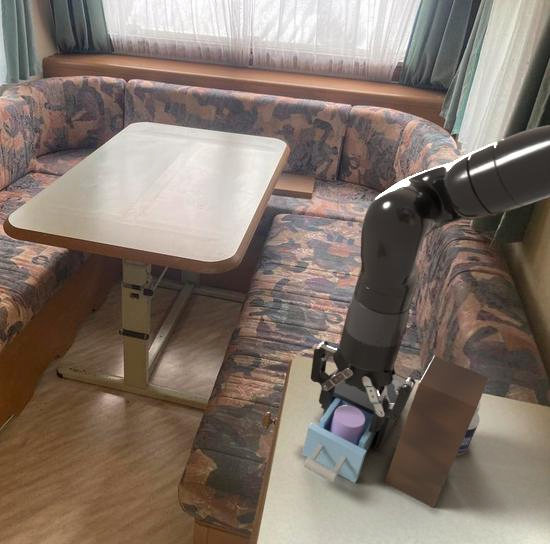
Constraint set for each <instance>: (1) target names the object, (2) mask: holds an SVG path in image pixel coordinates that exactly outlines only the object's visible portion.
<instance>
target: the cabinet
mask: <svg viewBox="0 0 550 544" xmlns="http://www.w3.org/2000/svg"><path fill="white" fill-rule="evenodd" d="M395 374H396V375H398V376H400V377H402V378H404V379H407V378H408V377H405V376H403V375H401V374H398V373H396V372H395ZM386 386H387V395H388V398H389V401H390V403H393V404H395V401H396V399H397V397H398V395H397V394H396V393H395V390H394V389H395V386H394V385H393V384H392V383H390V384H389V385H386ZM336 397H337V398H339V399H341V400H343V401H345V402H347V403H349V404H351V405H353V406H356V407H358V408H360V409H362V410H364V411H366V412H368V413H370V414H372V415H373V414H374V412H375V408H374V405H373V403H371V402H370V399H369V396H368V393H365V392H363V391H361V390H359V389H358V388H357V387H354V386H350V385H348V384H345V381H342V382H341V383H340V384H338V385H337V386H335V389H334V393H333V397H332V401H331V404H332V403H333V401H334V400H335V399H336ZM331 404H330V405H329V407H330V406H331ZM329 407H328V408H327V409H326V410H324V409H323V413H322V417H323V416H324V414H325V413H326V411H327V410H328V409H329ZM322 417H321V418H322ZM395 422H396V420H394V419H392V418H391V417H390V416H386V418H385V421H384V424H383V426H382V427H381V429H380V431H378V432H377V436H376V440H375V443H374V446H373V448H374V449H376V450H380V449H381V447H382V445H383V444H384V442H385V440H386V438H387V436H388V434H389V433H390V431H391V429H392V427H393V426H394V424H395Z"/></svg>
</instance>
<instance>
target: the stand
mask: <svg viewBox="0 0 550 544" xmlns="http://www.w3.org/2000/svg"><path fill="white" fill-rule="evenodd" d="M488 381H489V377H488V376H486V375H484V374H482V373H480V372H476V371H474V370H471V369H469V368H466V367H464V366H461V365H459V364H456V363H455V362H451V361H450V360H446V359H444V358H441V357H439V356H437V355H433V357H432V358H431V360H430V363H429V364H428V366H427V367H426V369H425V371H424V374H423V375H422V377H421V378H420V381H419V382H418V385H417V387H416V392H415V394H414V396H413V399H412V402H411V405H410V408H409V411H408V412H407V413H408V414H407V416H406V419H405V422H404V425H403V428H402V430H401V434H400V436H399V439H398V442H397V444H396V449H395V450H394V453H393V456H392V459H391V462H390V465H389V468H388V471H387V473H386V476H385V478H384V483H385V484H386V485H388V486H390V487H392V488H394V489H396V490H398V491H399V492H401V493H403V494H405V495H407V496H409V497H411V498H413V499H415V500H416V501H418V502H421V503H423V504H424V505H426V506H428V507H430V508H432V509H434V507H435V506H436V504H437V501H438V499H439V497H440V494H441V491H442V489H443V488H444V485H445V482H446V481H447V478H448V476H449V474H450V471H451V470H452V469H451V468H452V466H453V464H454V462H455V459H456V457H457V456H458V455H457V453H458V450H459V448H460V446H461V443H462V441H463V439H464V437H465V434H466V432H467V430H468V427H469V425H470V423H471V420H472V418H473V416H474V414H475V411H476V409H477V407H478V404H479V402H480V401H481V399H482V397H483V394H484V392H485V389H486V386H487V384H488Z"/></svg>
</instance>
